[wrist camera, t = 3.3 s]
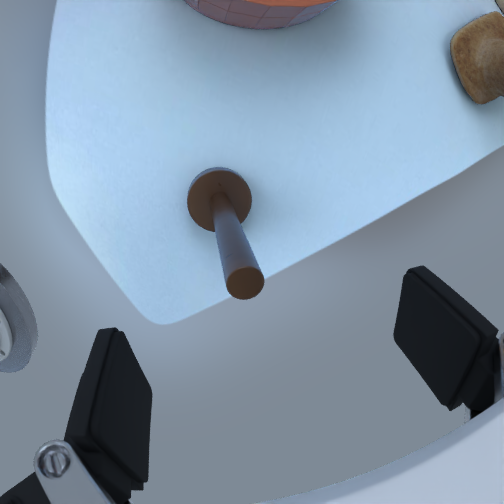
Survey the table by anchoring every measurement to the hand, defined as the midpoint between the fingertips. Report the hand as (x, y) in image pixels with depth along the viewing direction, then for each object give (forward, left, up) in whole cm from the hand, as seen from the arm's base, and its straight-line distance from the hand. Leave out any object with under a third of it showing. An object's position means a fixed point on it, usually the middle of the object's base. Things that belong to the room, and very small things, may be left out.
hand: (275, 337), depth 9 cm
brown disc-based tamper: (0, 0, -18) cm, 18 cm away
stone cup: (+34, +14, -18) cm, 41 cm away
